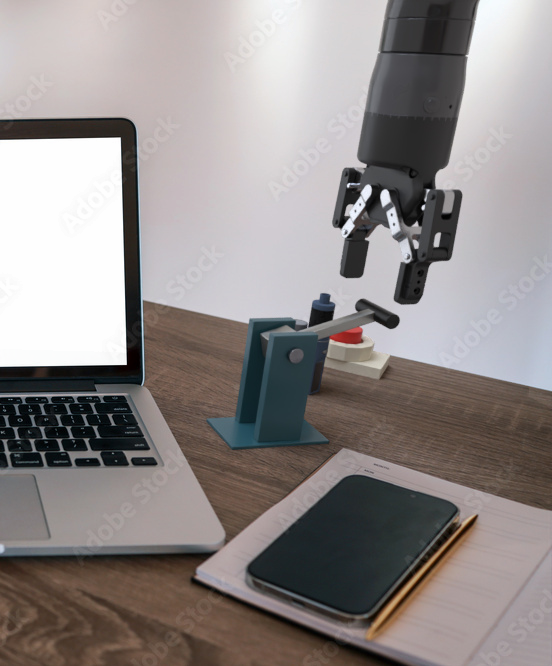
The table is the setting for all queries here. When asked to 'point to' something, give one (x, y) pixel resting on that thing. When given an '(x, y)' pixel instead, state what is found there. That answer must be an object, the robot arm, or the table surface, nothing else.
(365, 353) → the button box
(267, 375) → the bracket
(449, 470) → the table surface
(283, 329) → the lever
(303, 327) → the vaping device
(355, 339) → the button
